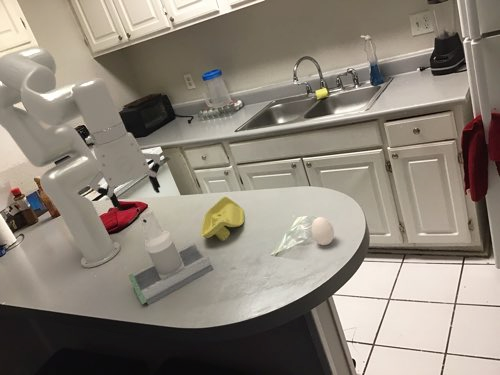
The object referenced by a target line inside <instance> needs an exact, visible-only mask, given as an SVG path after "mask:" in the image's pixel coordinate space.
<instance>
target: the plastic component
mask: <svg viewBox="0 0 500 375" xmlns="http://www.w3.org/2000/svg"><path fill="white" fill-rule="evenodd" d="M244 222H245V210H244V209H243V208H242V207H241V206H240V205H239V204H237V203H236V202H235V201H234V200H232V199H231V198H229V197H228V196H223V197H221V198H220V199H219V200H218V201H217V202H215V204H213V206H212V207H210V209H208V211H207V212H206V213H205V215H204V216H203V220H202V226H201V229H200V235H201V237H203V238H205V239H208V238H211V237H213V236H214V235H215V236H216V237H218V239H219V240H221V242H222V241H225V240H226V239H227V238H228V237H229V236H230V234H231V231H230V230H229V229H228V228H238V227H241V225H243V223H244ZM227 227H228V228H227Z"/></svg>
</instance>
